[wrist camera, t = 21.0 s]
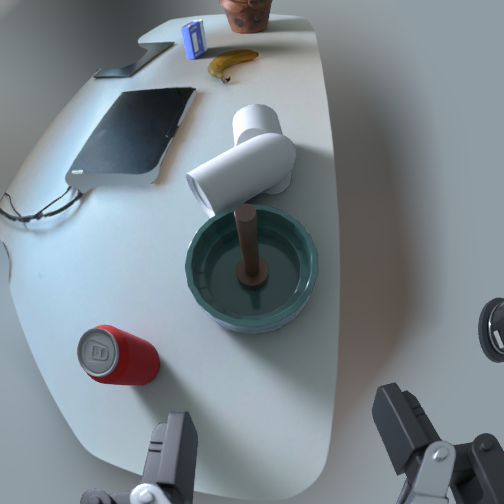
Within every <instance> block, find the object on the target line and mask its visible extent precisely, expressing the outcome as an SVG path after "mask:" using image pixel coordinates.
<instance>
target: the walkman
mask: <svg viewBox="0 0 504 504" xmlns="http://www.w3.org/2000/svg"><path fill="white" fill-rule="evenodd" d="M181 31H182V36H183V41H184V46H185V51H186V56H187V59H196V58H197V57H198V56H200V55H201V54H202V53H204V52H205V51H206V50H207V45H206V39H205V32H204V26H203V20H194V21H192V22H190V23H189V24H187V25H185V26H183V27H182V28H181Z"/></svg>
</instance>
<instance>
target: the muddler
mask: <svg viewBox="0 0 504 504" xmlns="http://www.w3.org/2000/svg"><path fill="white" fill-rule="evenodd" d="M234 214H235V220H236V226H237V231H238V237H239V242H240V248H241V253H242V259H241V260H240V261H239V263H238V264H237V267H236V275H237V279H238V282H239V283H240V285H241V286H242V287H244V288H245V289H248V290H257V289H260V288H262V287H263V286H264V285H265V284H266V282H267V280H268V276H269V268H268V265H267V263H266V261H265V260H264V259H262V258H261V257H259V249H258V231H257V214H256V209H255V207H254V206H252V205H251V204H241V205H239V206H238V207H237V208H236V209H235V212H234Z"/></svg>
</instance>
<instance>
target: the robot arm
mask: <svg viewBox="0 0 504 504" xmlns="http://www.w3.org/2000/svg"><path fill="white" fill-rule="evenodd" d="M487 336H488V340H489V343H490V345H491V347H492V349H493V350H494V351H495V352H496V353H498V354H500V355H504V302H502V303H499V304H497V305H495V306H494V307H493V308H492V309H491V311H490V313H489V316H488V319H487ZM372 415H373V419H374V422H375V424H376V426H377V429H378V431H379V433H380V436H381V438H382V440H383V443H384V445H385V447H386V450H387V452H388V454H389V457H390V459H391V462H392V464H393V467H394V469H395V472H396V474H397V475H400V474H403V473H405V474H406V476H407V478H406V481H405V483H404V486H403V488H402V491H401V493H400V496H399V498H398V500H397V503H396V504H448V503H449V499H448V498H447V497H446V494H447V490H448V487H449V486H450V488H451V490H452V493H453V495H454V498H455V501H456V504H504V451H503V449H502V447H501V446H500V444H499V442H498V441H497V439H496V438H495V437H494V436H493V435H491V434H488V433H484V434H481V435H479V436H477V437H476V438H475V440H474V441H473V442H471V443H466V444H460V445H452V444H451V443H449V442H447V441H442V440H441V439H440V437H439V436H438V434H437V432H436V430H435V429H434V427H433V425H432V423H431V422H430V420H429V418H428V417H427V415H426V414H425V412H424V410H423V408H422V407H421V405H420V403H419V402H418V400H417V398H416V397H415V396H414V395H412V394H411V393H409V392H408V391H404V392H401V390H400V388H399V387H398V385H397V384H396V383H391V384H387V385H384V386H380V387H378V389H377V393H376V397H375V400H374V404H373V408H372ZM150 442H151V443H150V445H149V449H148V450H149V452H148V454H147V458H146V462H145V467H144V471H143V476H142V480H141V483H140V484H139V486H137V487H135V488H134V489H133V490H132V491H129V492H125V493H116V494H107V493H106V492H104V491H103V490H100V489H90V490H88V491H86V492H85V493H84V494H83V495H82V498H81V501H80V504H192V502H193V501H192V500H193V490H194V479H195V468H196V457H197V448H198V435H197V431H196V429H195V426H194V424H193V422H192V419H191V417H190V414H189V412H173V411H171V412H170V413H169V416H168V420H167V423H159V424H158V425H157V427H156V428H155V429H154V431H153V433H152V437H151V441H150Z"/></svg>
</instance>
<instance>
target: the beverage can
mask: <svg viewBox="0 0 504 504" xmlns="http://www.w3.org/2000/svg"><path fill="white" fill-rule="evenodd" d="M77 355H78V360H79V363H80V365H81V367H82V368H83V369H84V371H86V373H87V374H88V375H89V376H90V377H91V378H92V379H94V380H95V381H97V382H99V383H104V384H115V385H145V384H148V383H149V382H151V381H152V380H153V379H154V378H155V377H156V375H157V373H158V371H159V366H160V360H159V356H158V353H157V351H156V349H155V348H154V347H153V345H151V344H150V343H149V342H147V341H145V340H143V339H141V338H138V337H136V336H134V335H132V334H129V333H127V332H125V331H122V330H120V329H117V328H115V327H113V326H110V325H100V326H97V327H94V328H92V329H89V330H88V331H86V332H85V333H84V334H83V335H82V337H81V338H80V340H79V343H78V348H77Z"/></svg>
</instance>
